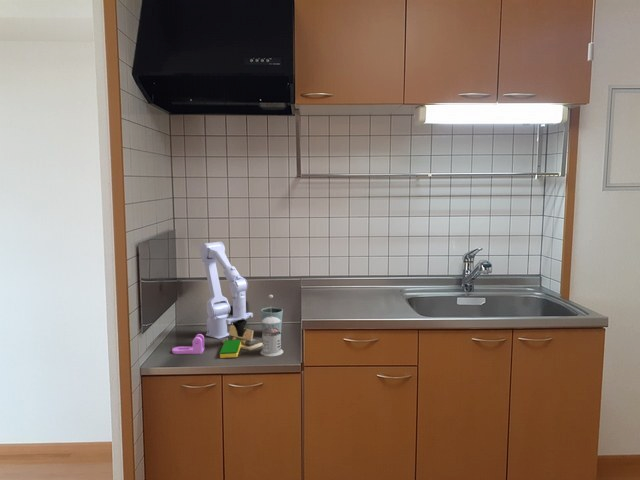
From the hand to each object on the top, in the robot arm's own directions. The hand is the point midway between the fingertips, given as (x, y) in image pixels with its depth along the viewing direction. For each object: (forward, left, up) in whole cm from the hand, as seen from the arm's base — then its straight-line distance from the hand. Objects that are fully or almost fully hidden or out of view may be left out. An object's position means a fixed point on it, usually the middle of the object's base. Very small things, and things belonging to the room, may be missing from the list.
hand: (240, 336), depth 217 cm
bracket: (-12, -19, -4) cm, 23 cm away
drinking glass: (+2, +19, -4) cm, 20 cm away
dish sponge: (+4, -9, -4) cm, 10 cm away
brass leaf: (0, +2, 0) cm, 2 cm away
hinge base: (0, +1, -4) cm, 4 cm away
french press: (+17, +2, -4) cm, 17 cm away
